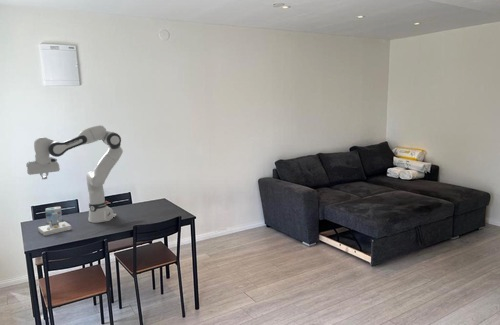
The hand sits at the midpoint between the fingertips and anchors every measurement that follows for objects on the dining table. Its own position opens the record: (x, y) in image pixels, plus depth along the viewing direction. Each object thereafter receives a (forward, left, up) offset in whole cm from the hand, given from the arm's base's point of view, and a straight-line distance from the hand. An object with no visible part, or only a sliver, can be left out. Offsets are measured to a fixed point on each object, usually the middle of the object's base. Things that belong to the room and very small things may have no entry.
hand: (44, 179), depth 259 cm
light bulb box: (-14, -9, -37) cm, 41 cm away
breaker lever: (+1, +6, -34) cm, 34 cm away
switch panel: (+2, +7, -37) cm, 38 cm away
